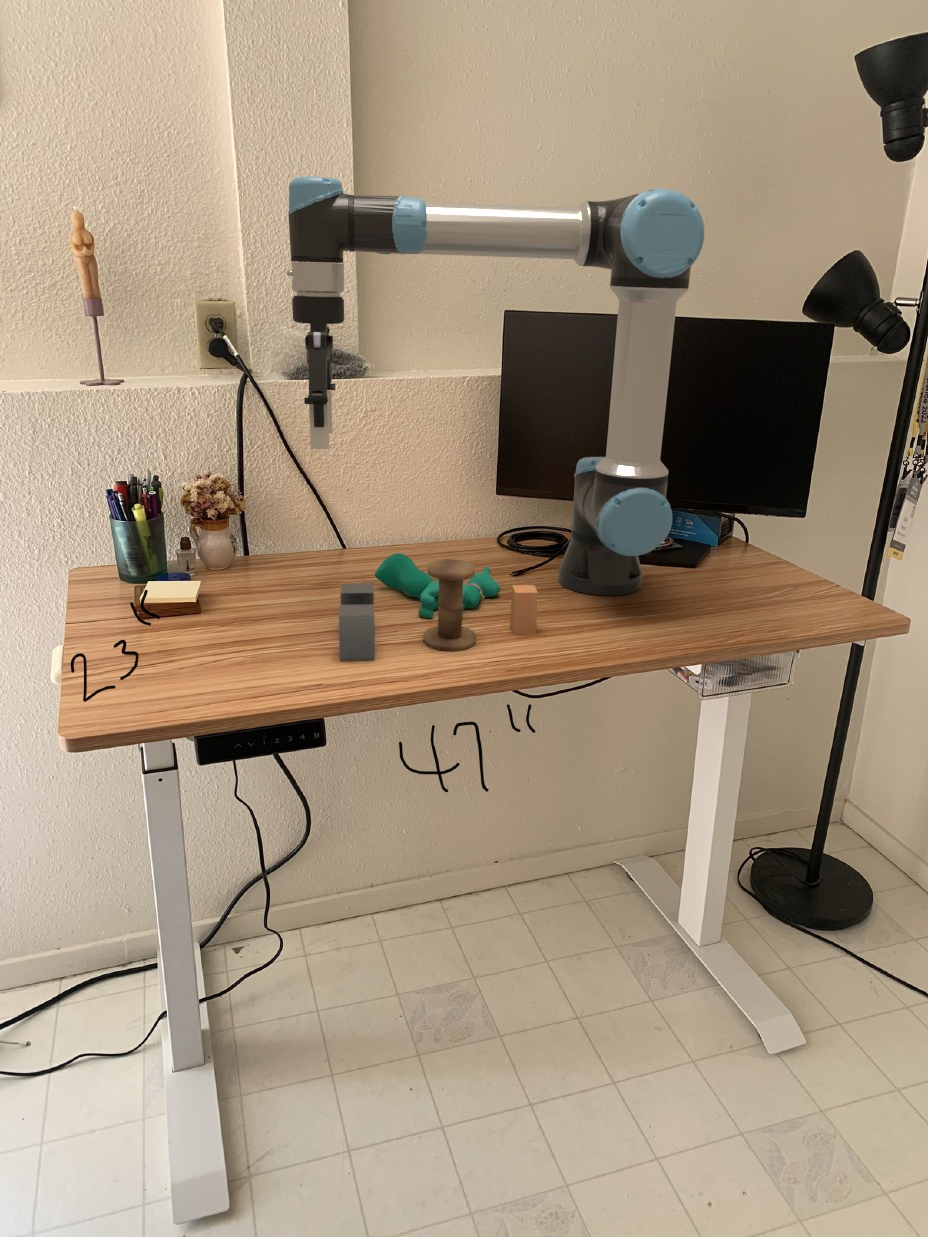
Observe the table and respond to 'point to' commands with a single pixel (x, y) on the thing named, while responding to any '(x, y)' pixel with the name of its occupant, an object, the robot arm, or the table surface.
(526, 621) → the orange brown block
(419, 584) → the toy
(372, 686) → the table surface
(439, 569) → the bobbin
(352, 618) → the metal block
